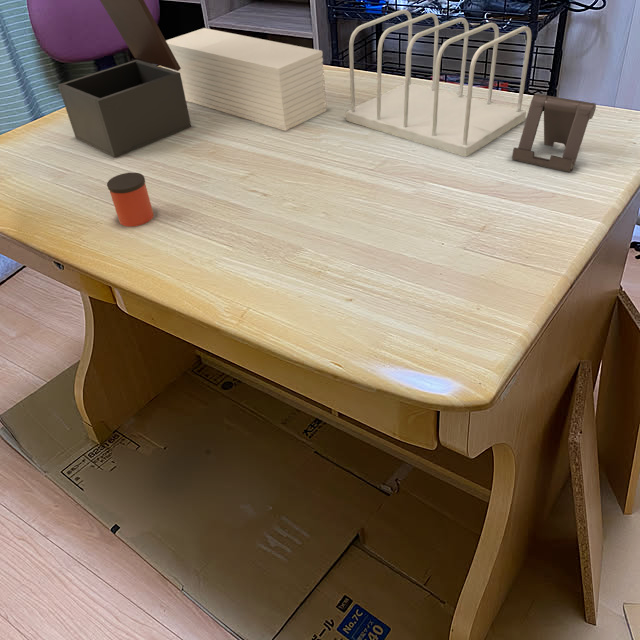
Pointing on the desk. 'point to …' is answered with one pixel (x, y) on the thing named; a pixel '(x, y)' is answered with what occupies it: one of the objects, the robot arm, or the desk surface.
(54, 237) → the desk surface
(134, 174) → the container
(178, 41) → the stack of papers
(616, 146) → the desk surface
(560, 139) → the tablet stand
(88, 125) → the brown hinged lid box
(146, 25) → the brown box lid
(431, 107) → the file sorter
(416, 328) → the desk surface
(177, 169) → the desk surface
